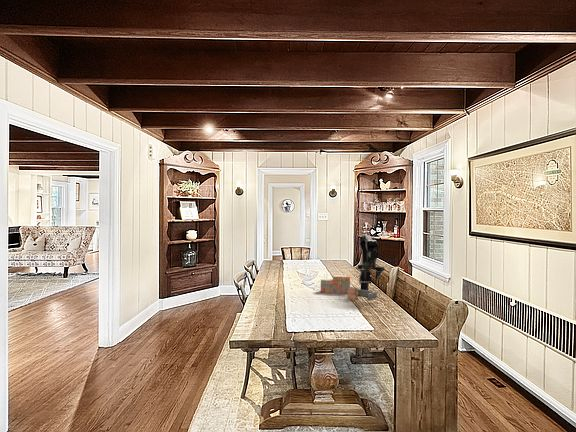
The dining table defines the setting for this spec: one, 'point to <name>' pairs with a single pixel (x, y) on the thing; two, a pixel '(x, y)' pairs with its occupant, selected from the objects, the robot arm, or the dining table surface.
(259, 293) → the dining table surface
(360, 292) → the open-fronted box
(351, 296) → the terracotta block
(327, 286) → the stack of blocks
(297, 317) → the dining table surface
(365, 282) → the robot arm
